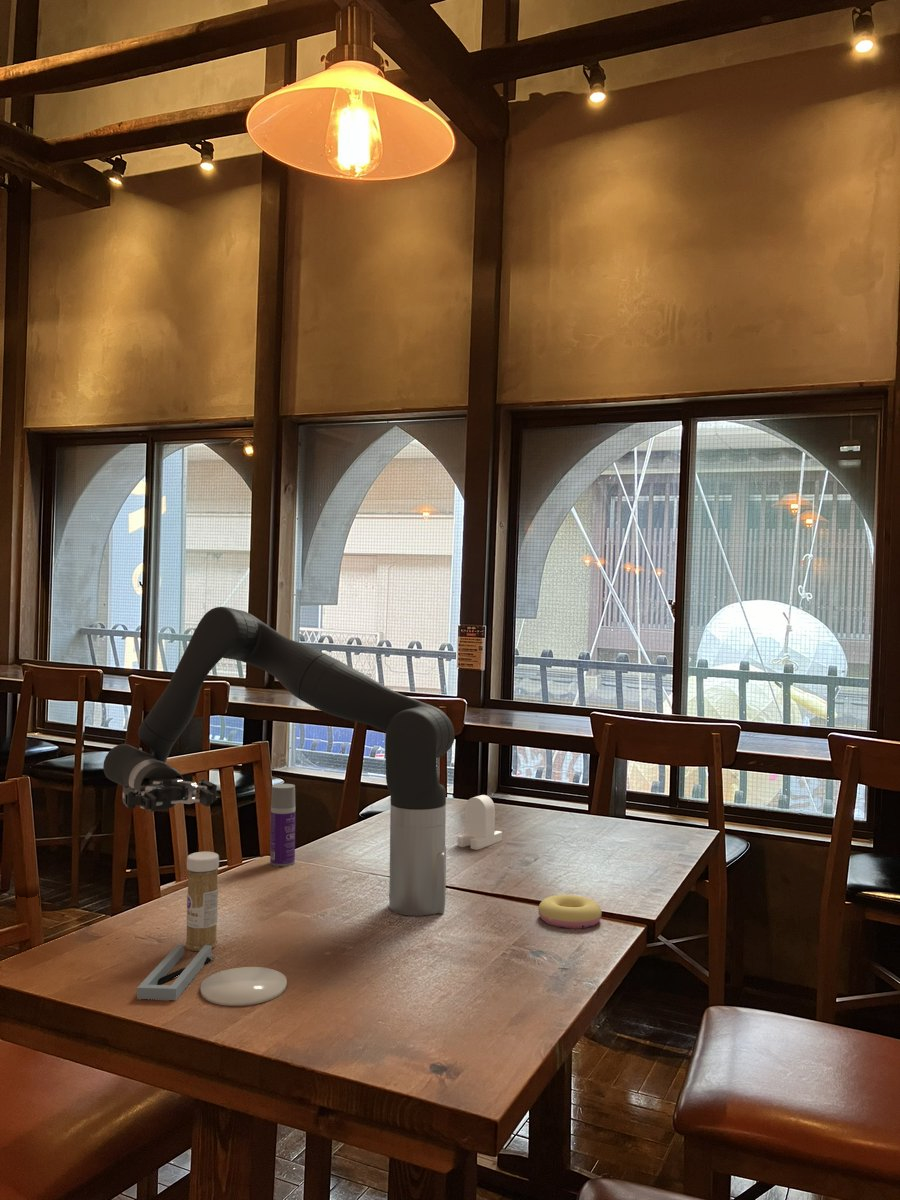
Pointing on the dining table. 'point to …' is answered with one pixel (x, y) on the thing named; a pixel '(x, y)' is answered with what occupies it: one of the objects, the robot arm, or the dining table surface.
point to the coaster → (243, 986)
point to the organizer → (479, 824)
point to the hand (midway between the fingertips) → (181, 802)
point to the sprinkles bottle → (202, 900)
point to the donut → (570, 911)
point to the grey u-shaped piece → (168, 992)
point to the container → (282, 825)
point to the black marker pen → (177, 973)
